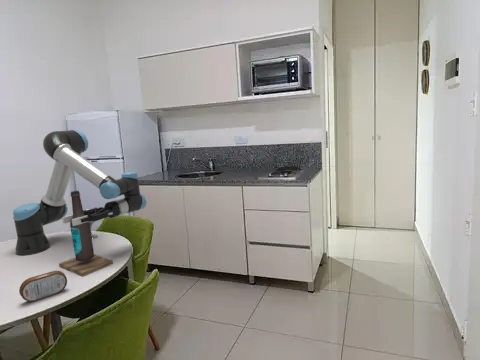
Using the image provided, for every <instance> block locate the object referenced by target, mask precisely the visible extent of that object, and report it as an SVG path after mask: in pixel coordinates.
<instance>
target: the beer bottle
mask: <svg viewBox="0 0 480 360" xmlns="http://www.w3.org/2000/svg"><path fill="white" fill-rule="evenodd" d="M70 198H71V205H72V206H71V207H72V209H71V210H72V215H73V217H72V219H75V218H79V217H83V216H85V215H84V213H83V210H84V209H83V204H82V200H81V193H80V190H72V191H71V192H70ZM72 219H71V221H70V222H69V228H70V233H71V240H72V246H73V247H72V248H73V253H74V258H76V260H77V261H86V260H89V259H91V258H93V257H94V254H95V253H94V250H95V249H94V245H93V239H92V237H91V233H92V229H91V230H90V224H89V222H86V223H82V224H79V225H75V226H73V225H72Z"/></svg>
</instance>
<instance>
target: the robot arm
mask: <svg viewBox="0 0 480 360" xmlns="http://www.w3.org/2000/svg"><path fill="white" fill-rule="evenodd" d="M42 146H43V149H44V152H45V153H46V154H47V155H48V157H49V158H51V159H52V160H54V161H55V162H54V167H53V169H52V173H51V176H50V179H49V183H48V186H47V190H46V193H45V194H44V195H42V196H41V199H40V202H28V203H26V204H25V203H24V204H22V205H19V206H17V207H15V208H14V209H13V211H12V213H13V214H12V215H13V217H12V218H13V220H14V226H15V231H16V236H17V237H16V238H17V239H16V243H15V244H16V245H15V250H14V251H15V254H16V255H17V256H28V255H34V254H38V253H41V252H44V251H46V250H49V248H50V247H51V244H50V241H49V238H47V236H46V234H45V231H44V226H46V225H49V224H53V223H55V222H58V221H60V220H62V223H63V225H64V224H68V223H70V221H71V219H72V217H73V214H70V215H67V214H68V204H67V202H66V199H65V194H66V191H67V188H68V184H69V182H70V180H71V179H70V178H71V175H72V174H73V173H72V172H75V173H76V174H78V175H79V176H80V177H81V178H83V179H85V180H86V181H87V182H89V183H90V184H92V185H93V186H94V187H96V188H97V189H99V194H100V195H101V197H102V198H104V200H111V199H115V200H112V201H108V202H105V204H104V206H100V207H93V208H90V209H84V210H85V211H83V213H84V215H85V216H83V217H79V218H75V219H72V225H73V226H75V225H79V224H82V223H86V222H91V221H93V222H94V223H95V222H97V221H100V220H103V219H106V218H110V219H113V218H116V217H119V216H121V217H123V216H124V215H126V214H129V213H133V212H139V210H142V209H144V208H145V207H146V205H147V199H146V197H145V195H144V194H141V190H140V179H139V176H138V173H137V172H136V171H126V172H123V173H121V178H119V179H116V178H114V177H112V176H111V175H109V174H108V173H107V172H105V171H103V170H102V169H101V168H99V166H96V165H95V164H93V163H92V162H91V161H90V160H88V159H87V158H85V157H83V156H82V154H83V153H84V152H86V151H87V150H88V149H89V139H87V136H86V134H84V133H83V131H80V130H74V129H70V130H55V131H52V132H49V133H47V134H46V136H45V137H44V139H43V141H42ZM120 196H124V198H120V199H116V198H118V197H120Z"/></svg>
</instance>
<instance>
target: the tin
mask: <svg viewBox="0 0 480 360" xmlns="http://www.w3.org/2000/svg"><path fill="white" fill-rule="evenodd" d="M67 285H68V278H67V276H66V274H65V273H64V272H63V271H60V270H51V271H48V272H45V273H42V274H37V275H35V276H31V277H28V278H26V279H25V280H24V281H23V282H22V283H21V284H20V286H19V295H20V296H21V298H22V299H23V300H24V301H26V302H36V301H40V300H42V299H45V298H48V297H52V296H53V295H54V296H55V295H58V294H60V293H61V292H63V291H64V290H65V288H66V287H67Z"/></svg>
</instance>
